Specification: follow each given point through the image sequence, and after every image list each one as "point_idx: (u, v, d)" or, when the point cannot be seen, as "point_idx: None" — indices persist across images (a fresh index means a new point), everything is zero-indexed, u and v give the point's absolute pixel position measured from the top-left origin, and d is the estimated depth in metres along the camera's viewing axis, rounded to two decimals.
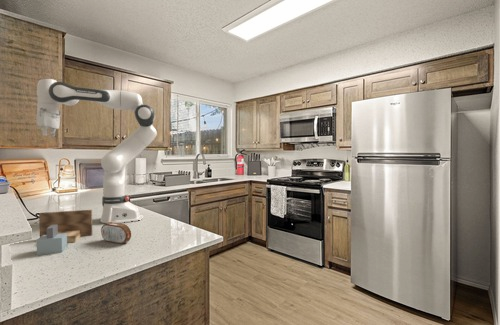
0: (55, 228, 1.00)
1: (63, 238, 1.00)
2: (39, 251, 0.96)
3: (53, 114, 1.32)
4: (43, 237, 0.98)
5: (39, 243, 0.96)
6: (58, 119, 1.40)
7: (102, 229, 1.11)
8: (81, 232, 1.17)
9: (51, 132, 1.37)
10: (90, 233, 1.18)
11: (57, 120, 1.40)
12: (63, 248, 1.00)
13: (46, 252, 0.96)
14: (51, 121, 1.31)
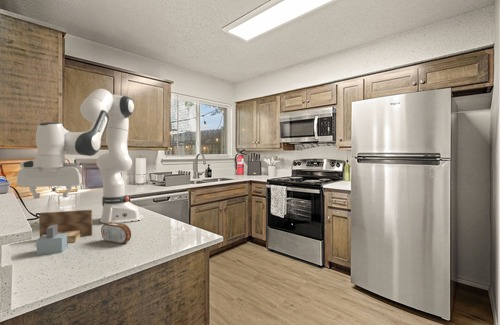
0: (55, 228, 1.00)
1: (63, 238, 1.00)
2: (39, 251, 0.96)
3: None
4: (43, 237, 0.98)
5: (39, 243, 0.96)
6: None
7: (102, 229, 1.11)
8: (81, 232, 1.17)
9: (34, 192, 0.97)
10: (90, 233, 1.18)
11: None
12: (63, 248, 1.00)
13: (46, 252, 0.96)
14: None
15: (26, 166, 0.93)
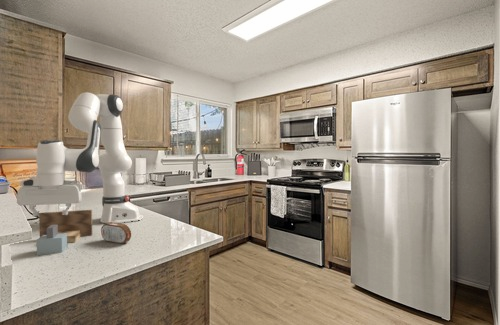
0: (55, 228, 1.00)
1: (63, 238, 1.00)
2: (39, 251, 0.96)
3: None
4: (43, 237, 0.98)
5: (39, 243, 0.96)
6: None
7: (102, 229, 1.11)
8: (81, 232, 1.17)
9: (34, 210, 0.97)
10: (90, 233, 1.18)
11: None
12: (63, 248, 1.00)
13: (46, 252, 0.96)
14: None
15: (26, 185, 0.93)
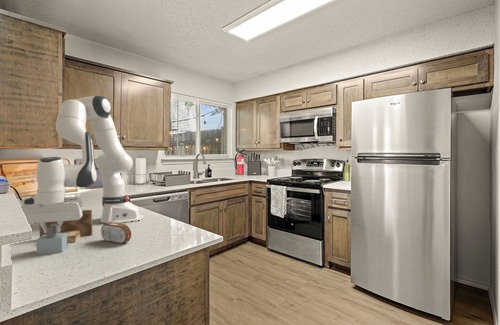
0: None
1: (63, 238, 1.00)
2: (39, 251, 0.96)
3: None
4: (43, 237, 0.98)
5: (39, 243, 0.96)
6: None
7: (102, 229, 1.11)
8: (81, 232, 1.17)
9: (45, 227, 0.98)
10: (90, 233, 1.18)
11: None
12: (63, 248, 1.00)
13: (46, 252, 0.96)
14: None
15: (27, 203, 0.94)
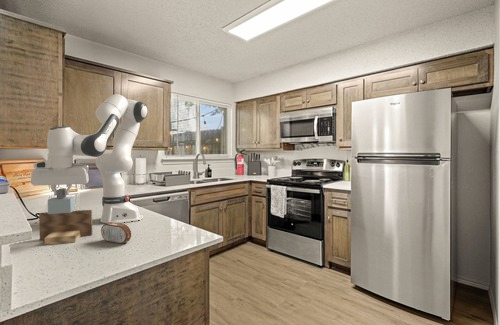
0: None
1: (71, 200, 1.09)
2: (50, 210, 1.06)
3: None
4: (53, 198, 1.08)
5: (50, 203, 1.05)
6: None
7: (102, 229, 1.11)
8: (81, 232, 1.17)
9: (55, 189, 1.08)
10: (90, 233, 1.18)
11: None
12: (71, 209, 1.10)
13: (56, 211, 1.06)
14: None
15: (39, 166, 1.03)
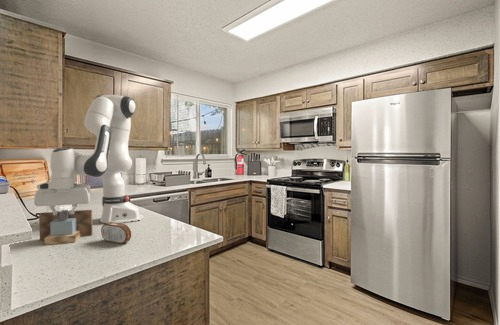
0: (66, 213, 1.12)
1: (73, 221, 1.12)
2: (52, 232, 1.08)
3: None
4: (56, 220, 1.10)
5: (52, 225, 1.08)
6: None
7: (102, 229, 1.11)
8: (81, 232, 1.17)
9: (54, 210, 1.10)
10: (90, 233, 1.18)
11: None
12: (73, 230, 1.12)
13: (58, 233, 1.09)
14: None
15: (42, 188, 1.06)
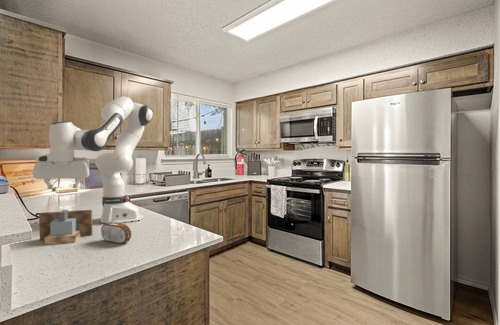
0: (66, 213, 1.12)
1: (73, 221, 1.12)
2: (52, 232, 1.08)
3: None
4: (56, 220, 1.10)
5: (52, 225, 1.08)
6: None
7: (102, 229, 1.11)
8: (81, 232, 1.17)
9: (48, 183, 1.09)
10: (90, 233, 1.18)
11: None
12: (73, 230, 1.12)
13: (58, 233, 1.09)
14: None
15: (41, 160, 1.06)
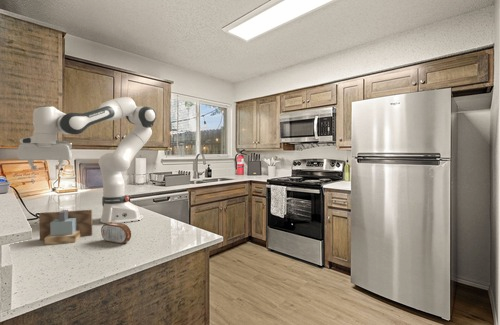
0: (66, 213, 1.12)
1: (73, 221, 1.12)
2: (52, 232, 1.08)
3: None
4: (56, 220, 1.10)
5: (52, 225, 1.08)
6: None
7: (102, 229, 1.11)
8: (81, 232, 1.17)
9: (32, 164, 1.16)
10: (90, 233, 1.18)
11: None
12: (73, 230, 1.12)
13: (58, 233, 1.09)
14: None
15: (25, 142, 1.13)
